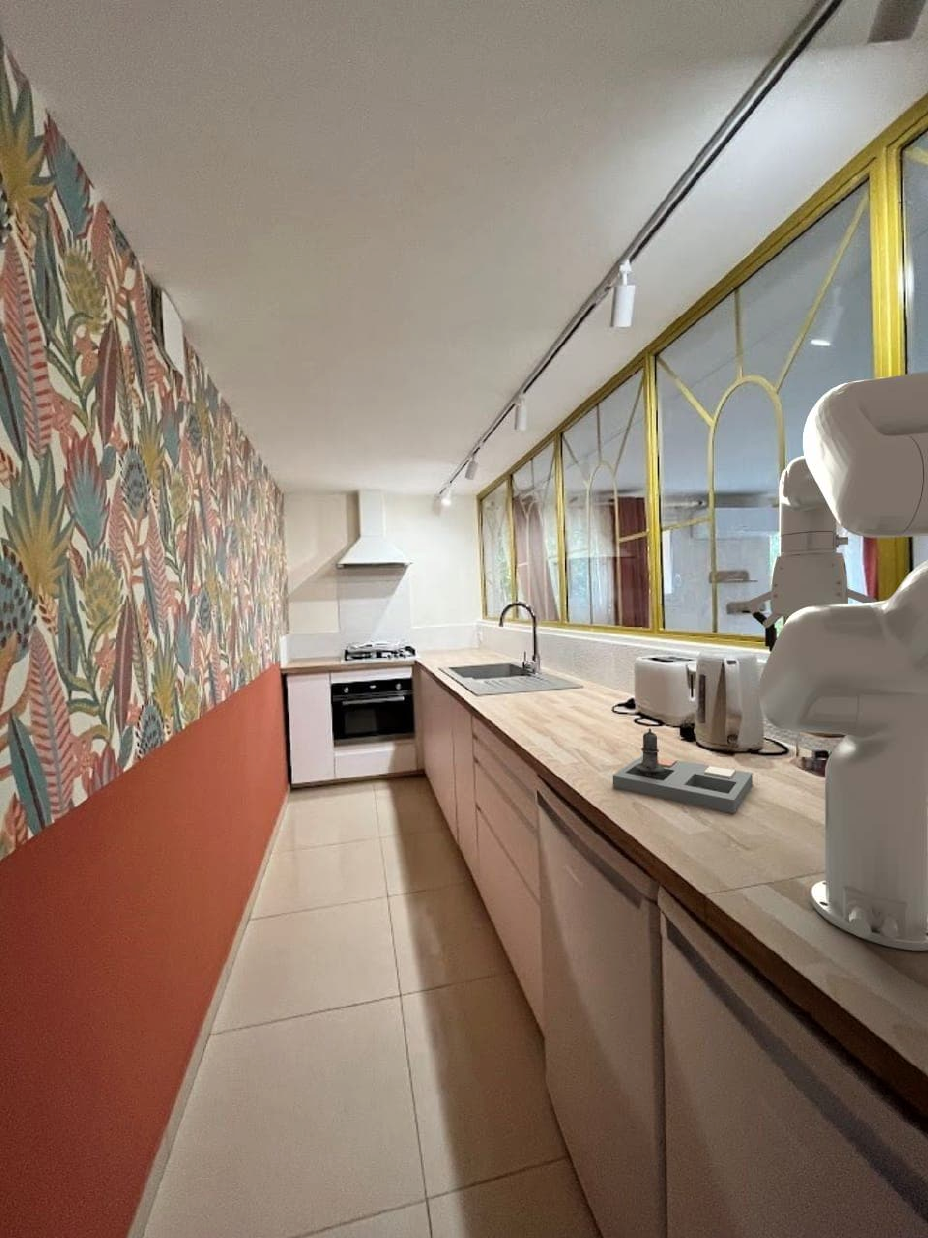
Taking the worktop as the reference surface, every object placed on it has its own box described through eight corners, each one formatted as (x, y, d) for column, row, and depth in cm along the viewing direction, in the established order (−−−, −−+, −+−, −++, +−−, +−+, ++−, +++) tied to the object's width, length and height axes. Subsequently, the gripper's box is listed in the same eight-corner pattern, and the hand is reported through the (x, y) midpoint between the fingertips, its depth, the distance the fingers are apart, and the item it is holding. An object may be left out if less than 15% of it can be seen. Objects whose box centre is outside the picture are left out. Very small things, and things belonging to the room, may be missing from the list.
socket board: (734, 813, 90) (733, 798, 90) (612, 786, 105) (612, 773, 105) (752, 784, 105) (752, 771, 105) (644, 764, 119) (643, 752, 119)
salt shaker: (667, 789, 103) (667, 732, 103) (638, 787, 104) (637, 731, 104) (661, 779, 109) (661, 725, 109) (634, 778, 110) (633, 724, 110)
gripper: (877, 543, 77) (877, 653, 77) (750, 553, 88) (751, 649, 88) (877, 538, 71) (878, 657, 71) (742, 549, 82) (742, 652, 82)
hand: (807, 652), depth 80 cm, fingers open, 9 cm apart
